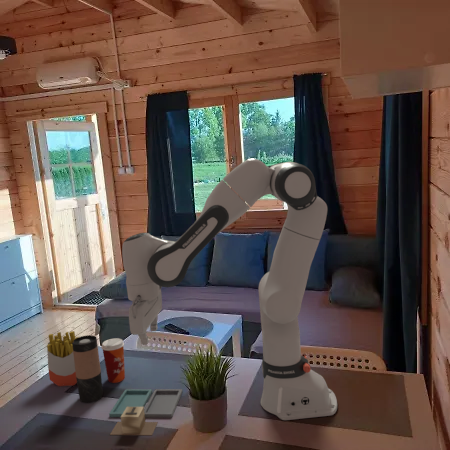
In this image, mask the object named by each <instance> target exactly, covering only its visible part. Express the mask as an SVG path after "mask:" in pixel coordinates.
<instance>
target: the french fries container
mask: <svg viewBox="0 0 450 450" xmlns="http://www.w3.org/2000/svg"><path fill="white" fill-rule="evenodd" d="M75 333H76V332H75V330H72V331H70V332H69V331H65V333H64V334H65V335H63V336H62V332H61V331H59V332H56V334H57V335H54V334H53V333H50V334H48V341H49V342H48V343H47V345H46V348H47V351H46V352H47V368H48V377H49V380H50V381H51V382H52V383H53V384H54V385H56V386H58V387H65V386H66V387H68V386H69V387H70V386H75V385H76V384H77V379H76V372H75V363H74V354H73V346H72V343H73V342H74V340H75V339H76V338H78V337H79V336H78V337H76V334H75Z"/></svg>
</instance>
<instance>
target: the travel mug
mask: <svg viewBox="0 0 450 450" xmlns="http://www.w3.org/2000/svg"><path fill="white" fill-rule="evenodd" d="M75 338H76V337H75ZM72 346H73V354H74V363H75V372H76V379H77V383H76V384H77V390H78V397H79V401H80V402H81V403H83V404H92V403H95V402H98V401H100V399H102V398H103V393H104V392H103V382H102V381H103V380H102V371H101V370H102V369H101V363H100V355H99V346H98V338H97V336H95V335H92V334H91V335H90V334H89V335H81V336H78V338H76V339H75V340H74V342H73V343H72Z"/></svg>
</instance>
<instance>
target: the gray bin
mask: <svg viewBox="0 0 450 450" xmlns="http://www.w3.org/2000/svg"><path fill="white" fill-rule="evenodd" d="M182 394H183V389H182V388H181V389H180V388H178V389H177V388H175V389H174V388H173V389H172V388H170V389H169V388H167V389H165V388H163V389H161V388H160V389H157V388H156V389H154V391H152V394H151V396H150V398H149V399H148V401H147V403H146V405H145V407H144V413H145V418H165V419H166V418H169V419H170V418H173V416H174V413H175V411H176V409H177V406H178V403H179V401H180V400H181V396H182Z"/></svg>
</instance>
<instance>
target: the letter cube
mask: <svg viewBox="0 0 450 450" xmlns="http://www.w3.org/2000/svg"><path fill="white" fill-rule="evenodd" d="M144 409H145V407H126V409H125V411H124V412H123V414H122V416H121V417H120V422H121V424H122V433H123V434H140V433H141V431H142V429H143V427H144V425H145V422H146V417H145V413H144Z"/></svg>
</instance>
